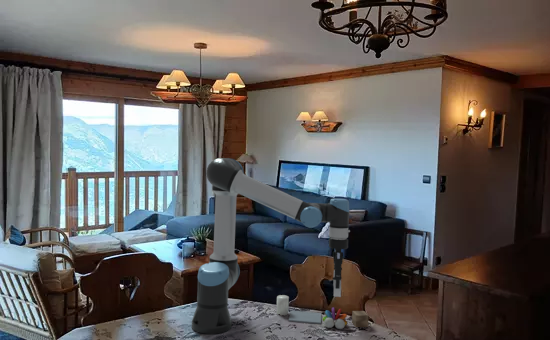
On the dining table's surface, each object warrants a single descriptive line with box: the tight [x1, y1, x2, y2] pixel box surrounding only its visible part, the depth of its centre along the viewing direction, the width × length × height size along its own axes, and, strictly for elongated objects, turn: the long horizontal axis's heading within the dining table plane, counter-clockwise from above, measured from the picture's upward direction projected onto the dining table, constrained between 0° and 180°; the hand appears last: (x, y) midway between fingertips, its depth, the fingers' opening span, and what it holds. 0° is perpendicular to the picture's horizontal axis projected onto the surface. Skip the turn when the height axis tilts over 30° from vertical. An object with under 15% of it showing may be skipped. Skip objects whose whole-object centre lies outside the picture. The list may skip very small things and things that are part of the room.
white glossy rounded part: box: [276, 294, 290, 316], centre depth 185 cm, size 5×5×7 cm
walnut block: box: [351, 310, 369, 328], centre depth 175 cm, size 5×5×5 cm
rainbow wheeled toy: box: [322, 307, 348, 330], centre depth 174 cm, size 8×10×7 cm
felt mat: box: [288, 310, 323, 325], centre depth 181 cm, size 13×11×1 cm
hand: (336, 291), depth 173 cm, fingers open, 13 cm apart
